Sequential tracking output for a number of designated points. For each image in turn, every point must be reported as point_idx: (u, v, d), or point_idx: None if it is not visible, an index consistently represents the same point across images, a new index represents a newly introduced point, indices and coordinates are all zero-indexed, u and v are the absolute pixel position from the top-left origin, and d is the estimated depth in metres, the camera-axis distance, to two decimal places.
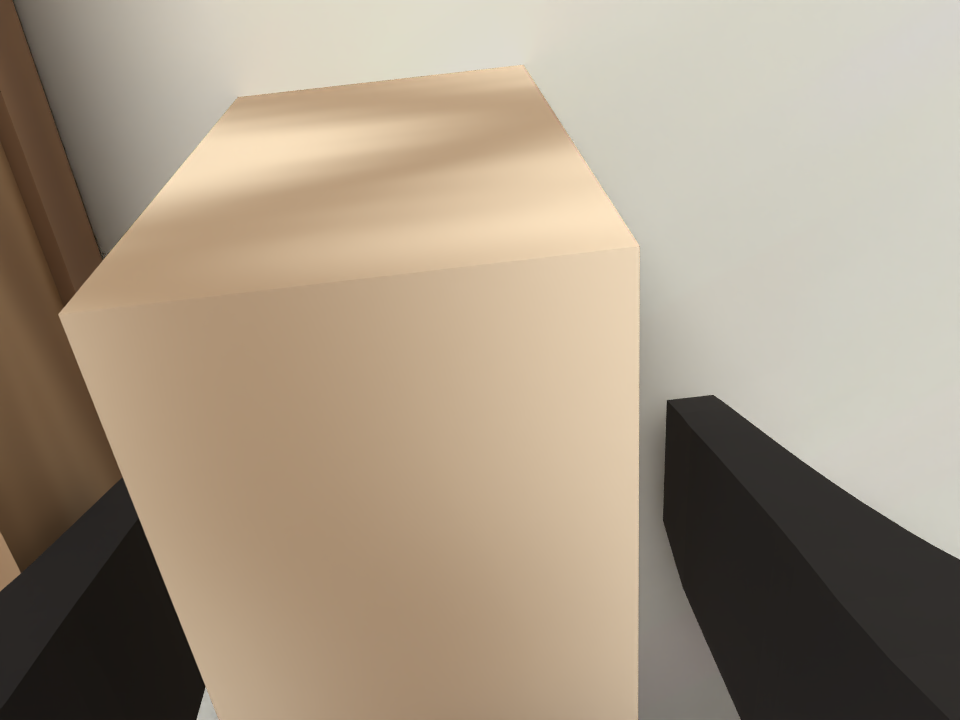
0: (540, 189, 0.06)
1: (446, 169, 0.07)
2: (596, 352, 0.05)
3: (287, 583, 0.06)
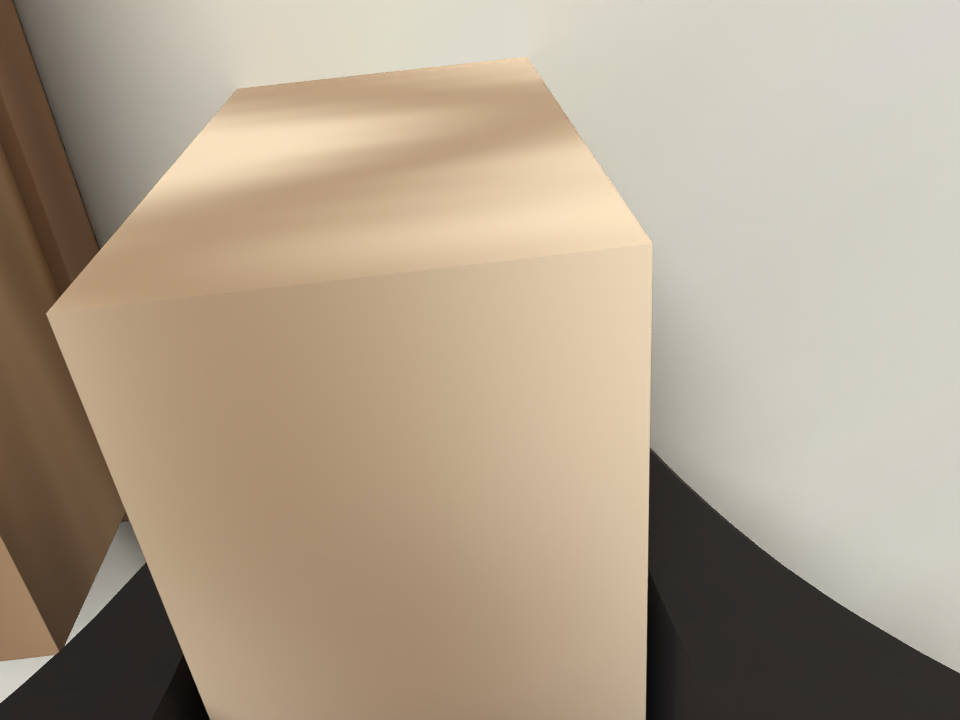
0: (546, 184, 0.06)
1: (449, 164, 0.06)
2: (605, 355, 0.05)
3: (286, 592, 0.06)
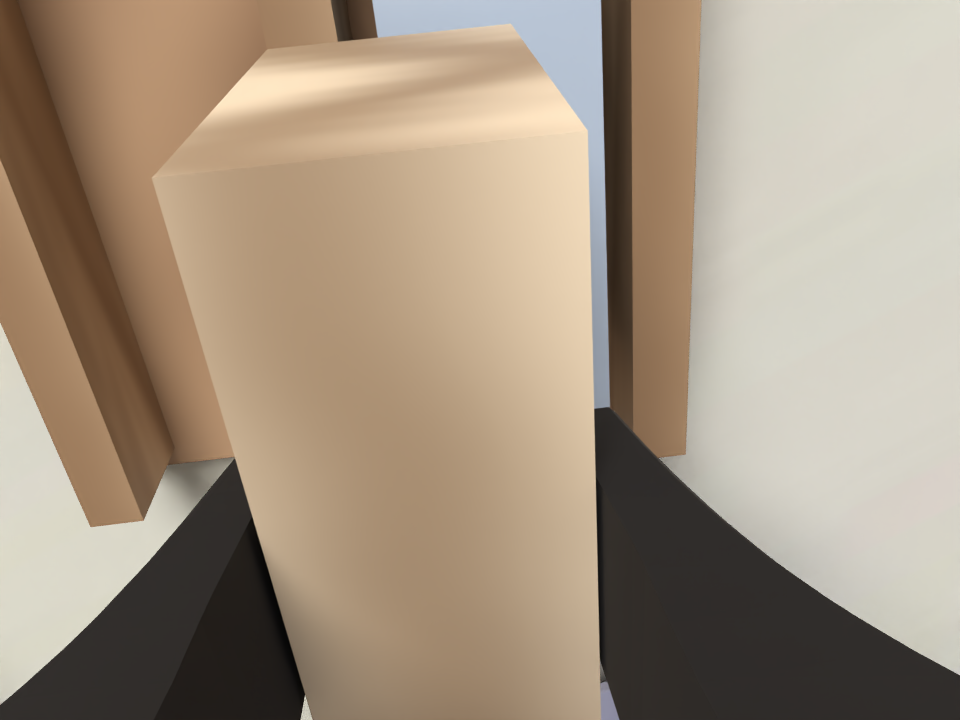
0: (516, 101, 0.08)
1: (444, 92, 0.08)
2: (555, 218, 0.07)
3: (317, 412, 0.08)
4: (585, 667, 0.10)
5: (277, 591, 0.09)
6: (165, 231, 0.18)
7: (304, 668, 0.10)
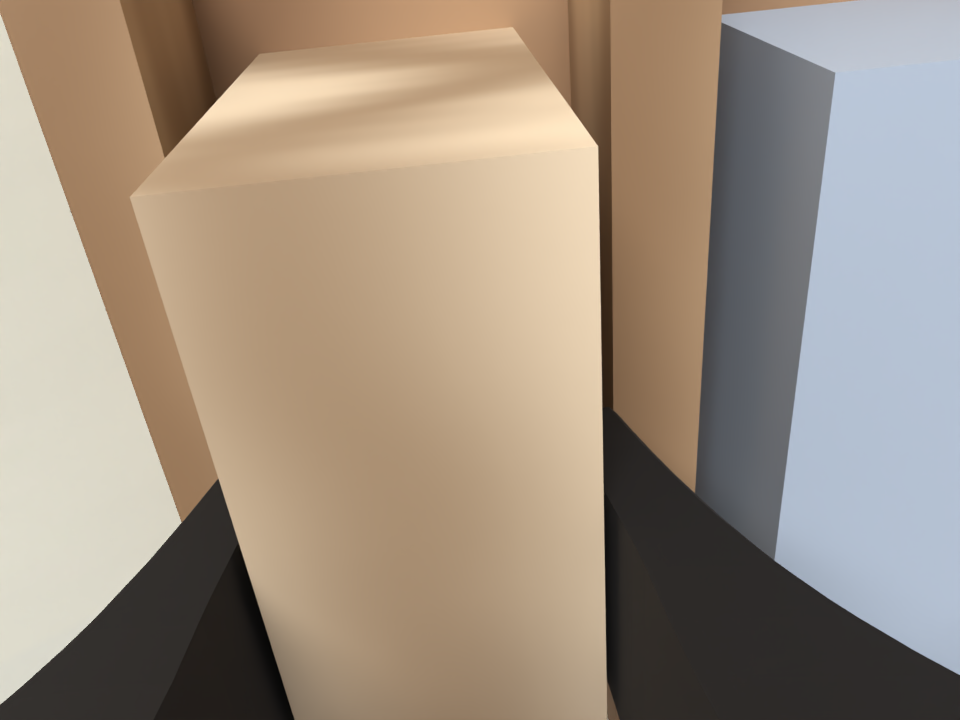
0: (520, 113, 0.07)
1: (443, 102, 0.08)
2: (564, 238, 0.07)
3: (308, 443, 0.07)
4: (591, 702, 0.09)
5: (268, 627, 0.08)
6: None
7: (297, 705, 0.09)
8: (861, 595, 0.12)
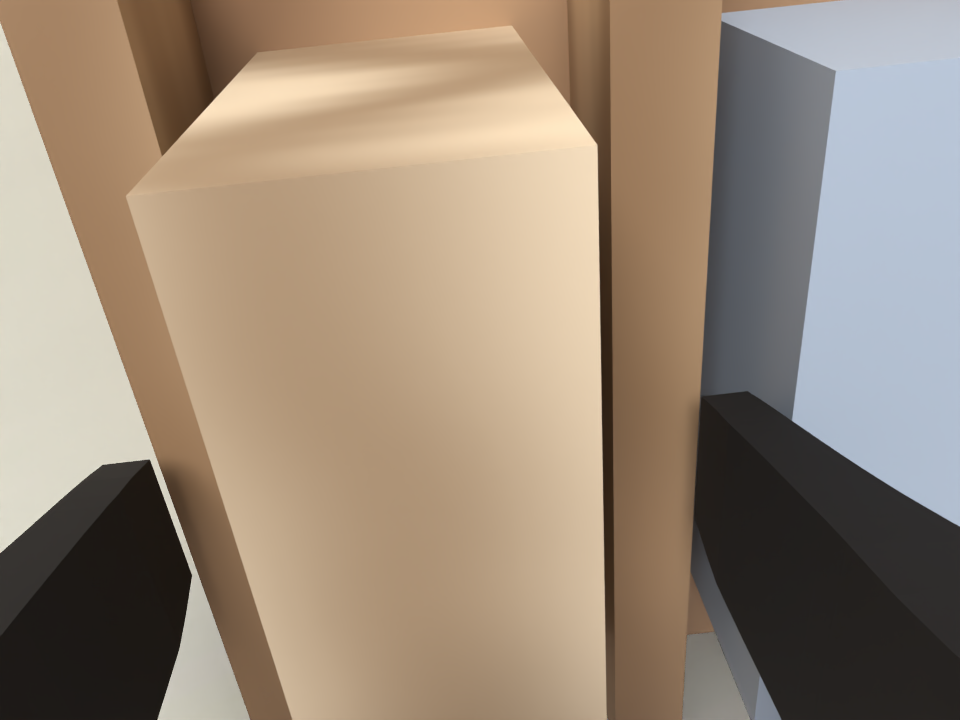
0: (520, 111, 0.07)
1: (442, 100, 0.08)
2: (563, 237, 0.06)
3: (306, 443, 0.07)
4: (591, 703, 0.09)
5: (266, 628, 0.08)
6: None
7: (295, 706, 0.09)
8: None
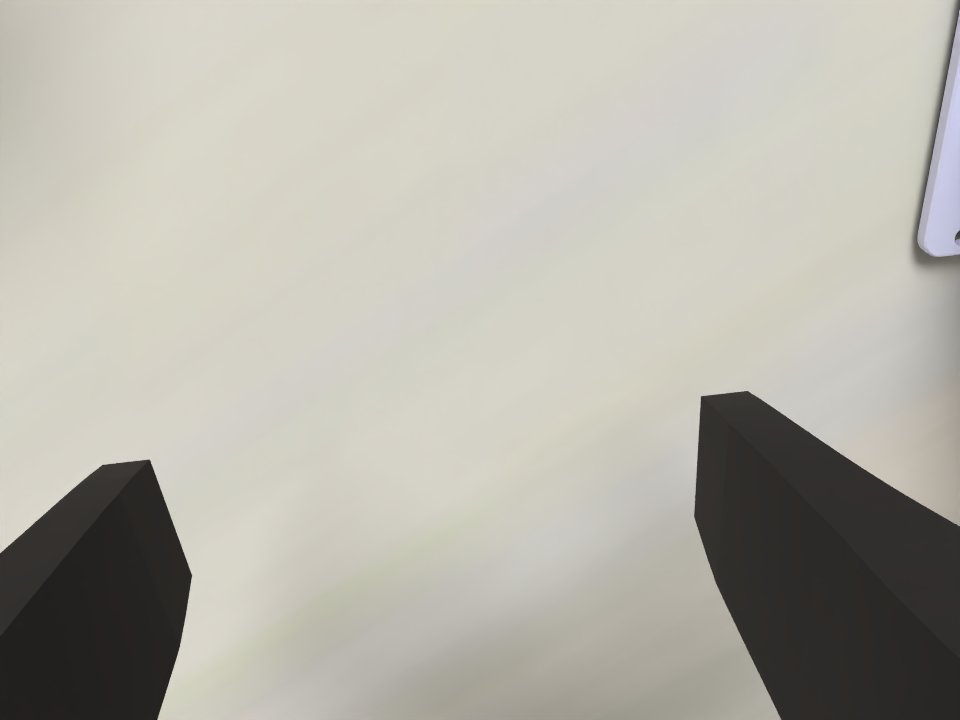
0: None
1: None
2: None
3: None
4: None
5: None
6: None
7: None
8: None
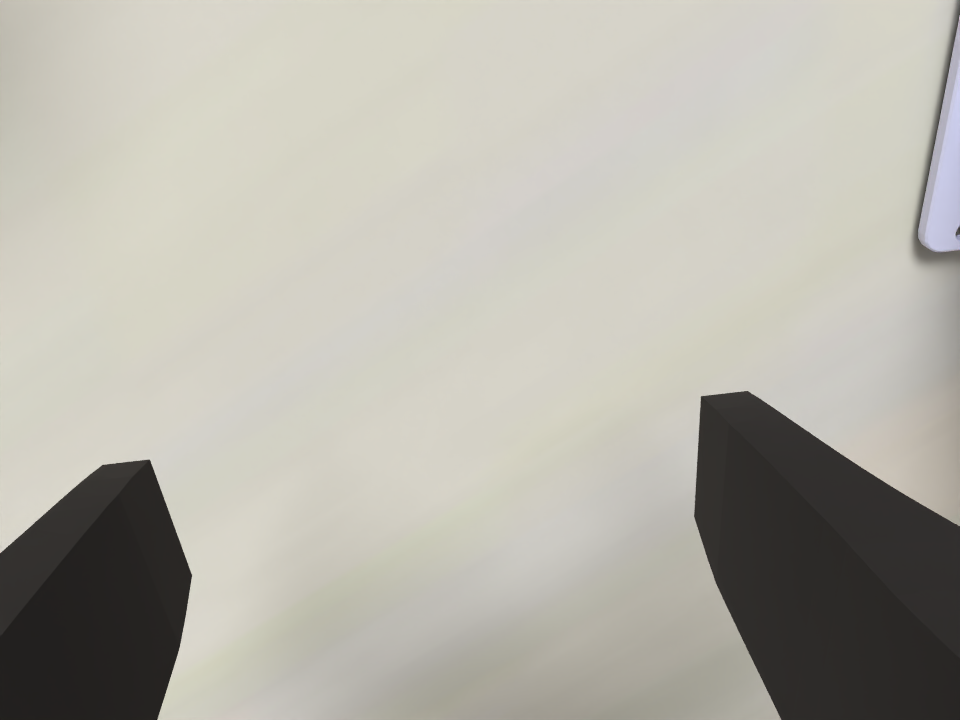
0: None
1: None
2: None
3: None
4: None
5: None
6: None
7: None
8: None
